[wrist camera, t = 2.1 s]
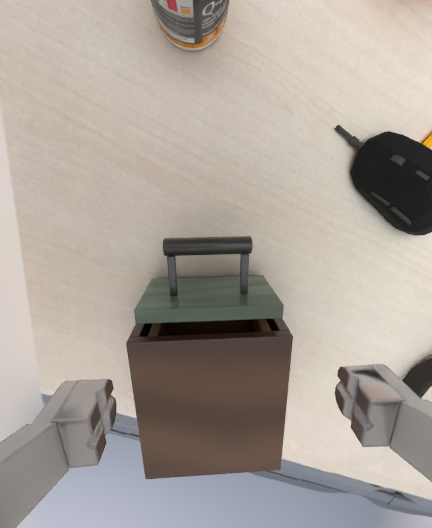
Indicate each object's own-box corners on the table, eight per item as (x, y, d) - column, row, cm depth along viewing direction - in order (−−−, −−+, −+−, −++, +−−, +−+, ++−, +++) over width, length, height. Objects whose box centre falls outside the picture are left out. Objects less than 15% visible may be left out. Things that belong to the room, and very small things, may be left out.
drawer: (147, 230, 23) (125, 246, 17) (264, 227, 24) (288, 242, 17) (162, 385, 29) (150, 443, 22) (257, 380, 29) (273, 435, 23)
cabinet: (149, 294, 26) (125, 343, 18) (265, 290, 27) (293, 335, 19) (160, 401, 30) (145, 479, 22) (260, 396, 31) (280, 470, 23)
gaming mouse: (359, 95, 22) (393, 74, 18) (459, 195, 25) (506, 196, 21) (312, 157, 23) (334, 150, 19) (412, 245, 26) (449, 254, 22)
